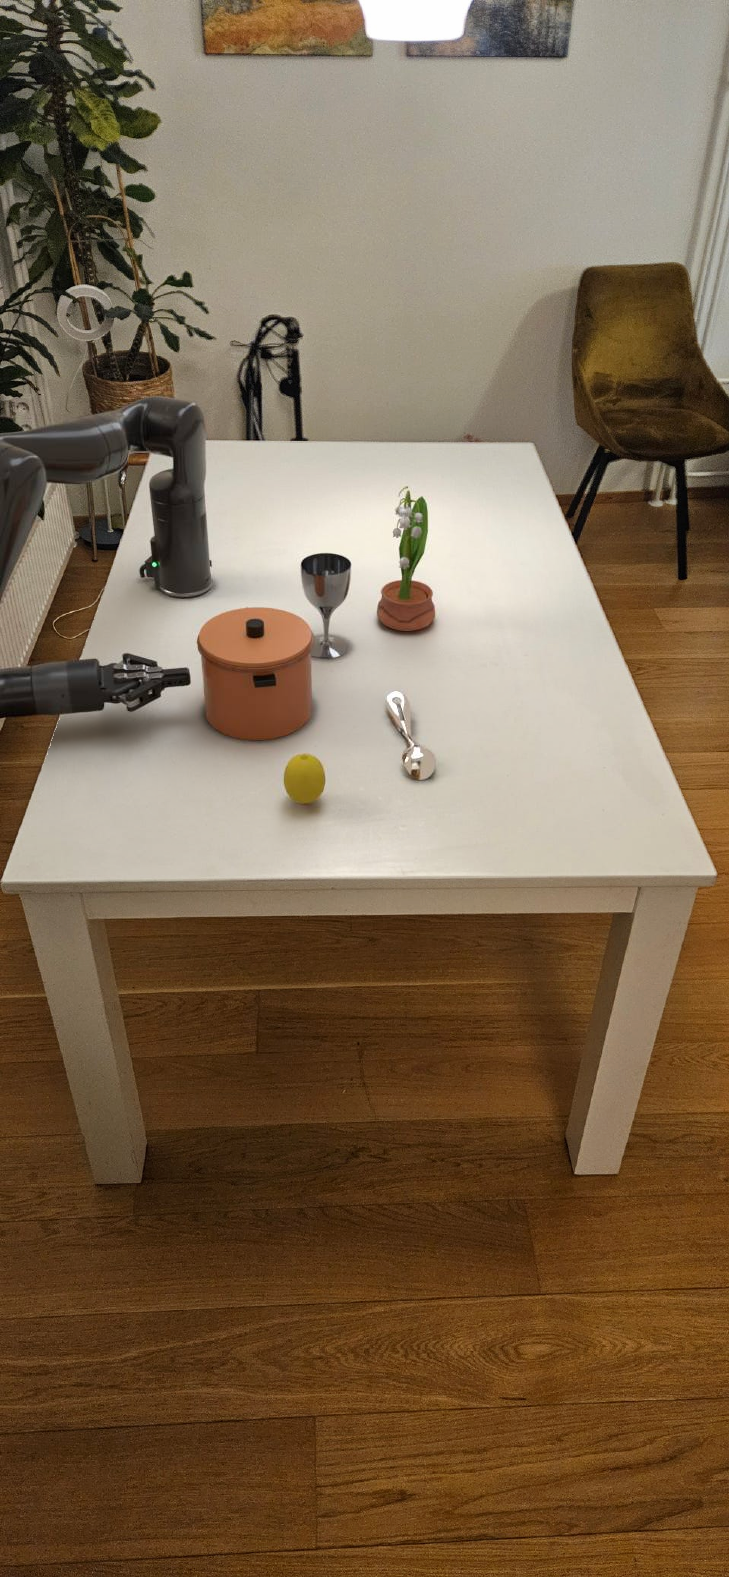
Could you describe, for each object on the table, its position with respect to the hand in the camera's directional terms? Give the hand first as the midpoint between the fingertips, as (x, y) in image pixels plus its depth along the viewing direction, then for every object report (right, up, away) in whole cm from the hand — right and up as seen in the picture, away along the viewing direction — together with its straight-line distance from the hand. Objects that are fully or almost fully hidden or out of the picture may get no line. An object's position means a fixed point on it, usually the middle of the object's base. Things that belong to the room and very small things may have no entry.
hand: (189, 676), depth 160 cm
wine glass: (+19, +7, +21) cm, 30 cm away
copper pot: (+9, -5, +6) cm, 12 cm away
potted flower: (+32, +12, +28) cm, 44 cm away
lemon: (+17, -19, -12) cm, 28 cm away
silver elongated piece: (+32, -9, +1) cm, 33 cm away
